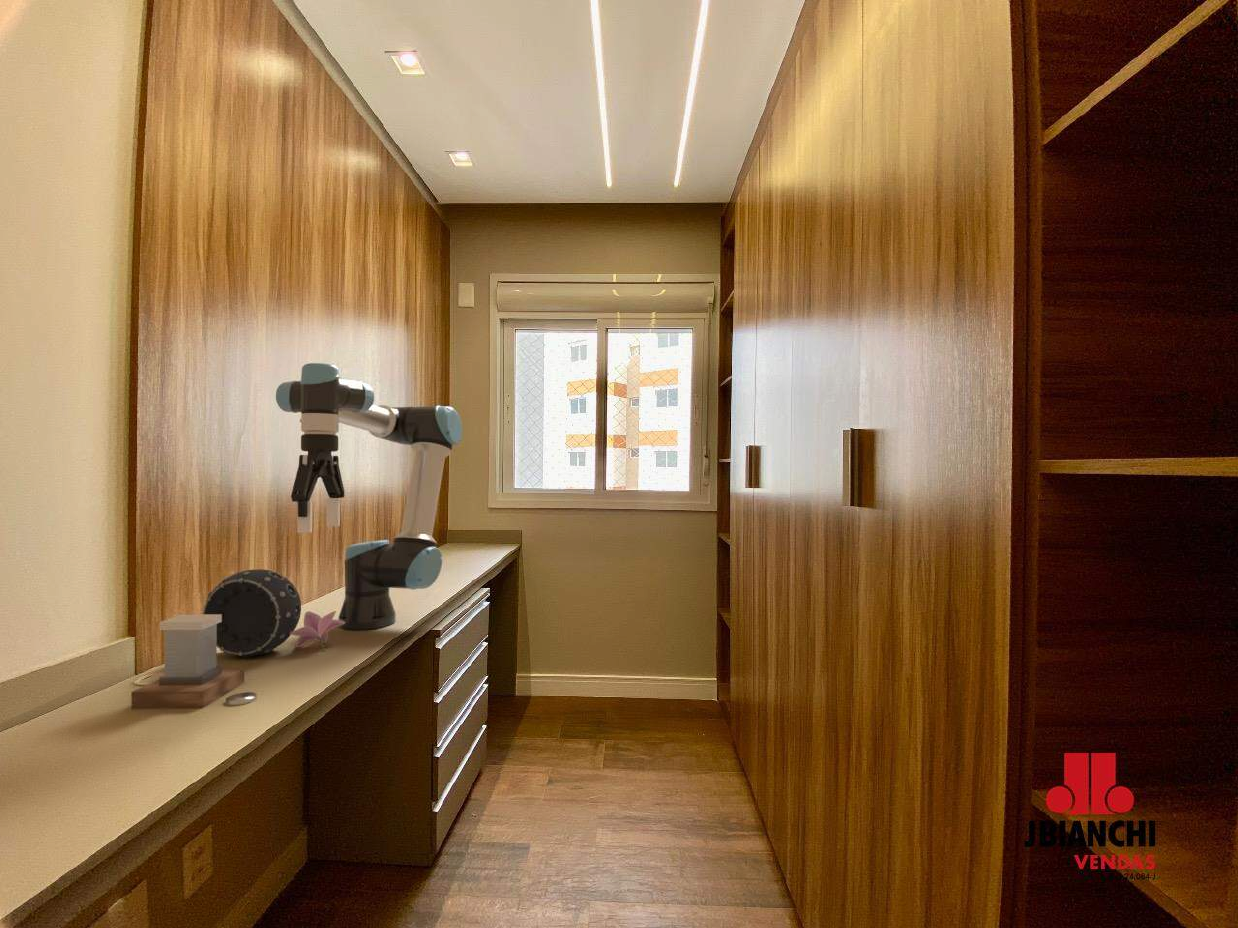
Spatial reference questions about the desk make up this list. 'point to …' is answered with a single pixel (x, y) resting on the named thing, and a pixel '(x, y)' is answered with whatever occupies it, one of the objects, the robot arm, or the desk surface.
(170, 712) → the desk surface
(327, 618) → the lily
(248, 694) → the domed puck
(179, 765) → the desk surface
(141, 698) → the walnut stand
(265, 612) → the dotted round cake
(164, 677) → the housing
